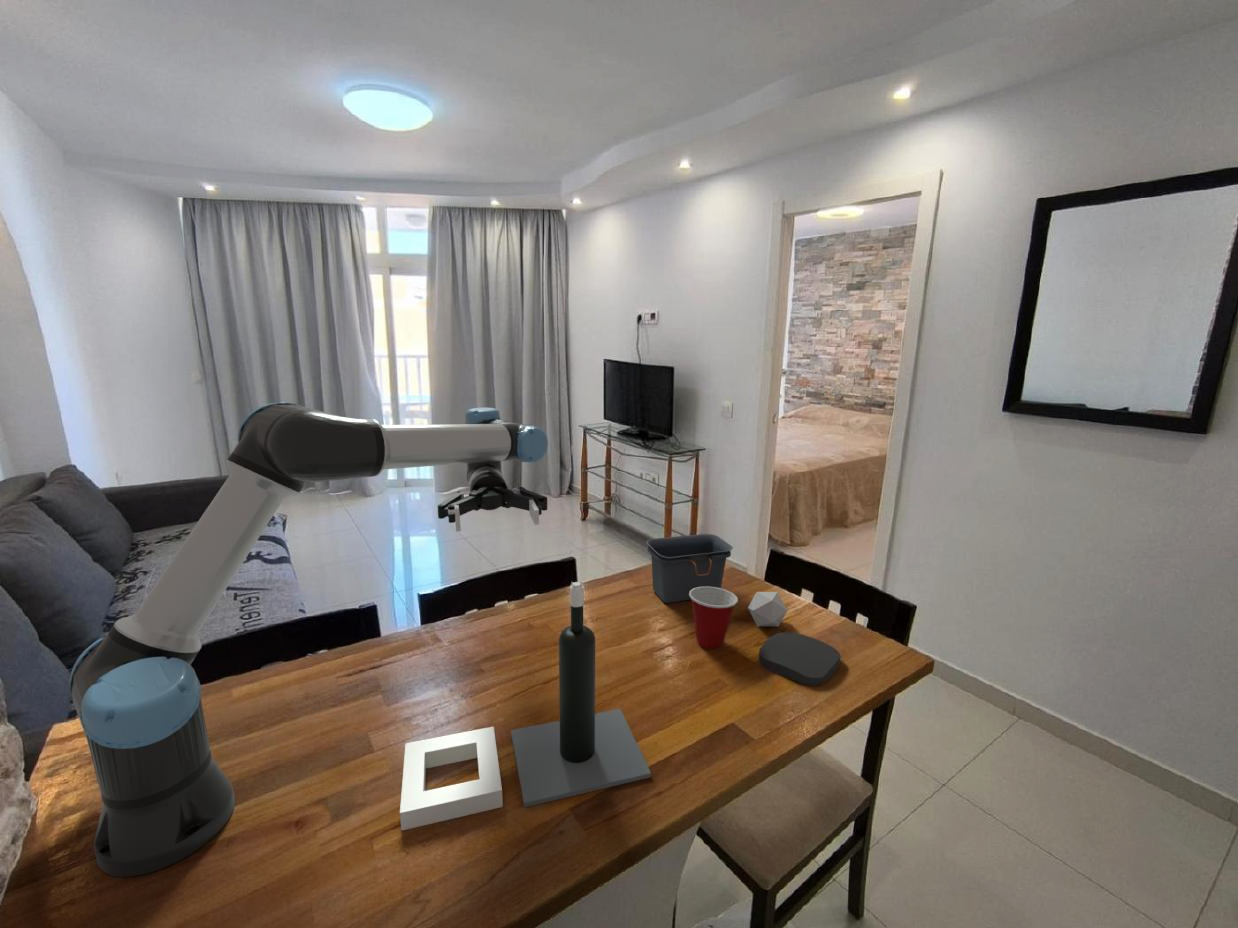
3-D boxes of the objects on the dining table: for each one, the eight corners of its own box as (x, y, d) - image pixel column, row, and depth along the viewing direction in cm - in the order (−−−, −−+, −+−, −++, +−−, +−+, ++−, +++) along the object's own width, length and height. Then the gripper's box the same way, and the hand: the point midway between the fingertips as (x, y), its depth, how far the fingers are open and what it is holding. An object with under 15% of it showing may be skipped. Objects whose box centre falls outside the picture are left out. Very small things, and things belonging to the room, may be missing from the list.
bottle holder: (401, 830, 78) (399, 812, 77) (406, 758, 91) (405, 743, 90) (502, 806, 82) (502, 789, 81) (494, 741, 95) (493, 726, 94)
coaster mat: (524, 807, 82) (523, 802, 82) (511, 734, 97) (511, 730, 96) (650, 777, 88) (651, 772, 88) (620, 712, 103) (620, 708, 102)
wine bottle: (579, 768, 88) (578, 595, 81) (552, 752, 92) (550, 584, 85) (601, 748, 93) (603, 582, 86) (576, 733, 96) (575, 572, 89)
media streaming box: (818, 692, 110) (820, 679, 109) (751, 664, 119) (752, 651, 118) (845, 661, 120) (846, 648, 120) (781, 637, 130) (782, 625, 129)
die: (777, 639, 129) (798, 603, 130) (746, 619, 130) (766, 583, 131) (767, 633, 137) (787, 599, 139) (738, 614, 138) (757, 581, 139)
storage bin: (709, 578, 160) (712, 531, 156) (738, 602, 145) (741, 551, 142) (641, 588, 153) (642, 539, 149) (664, 614, 139) (665, 561, 135)
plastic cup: (743, 642, 127) (747, 594, 124) (717, 661, 119) (720, 611, 116) (704, 625, 134) (706, 579, 131) (677, 642, 126) (679, 594, 123)
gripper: (547, 501, 122) (567, 534, 102) (427, 510, 114) (424, 547, 95) (546, 467, 120) (567, 494, 100) (424, 474, 113) (421, 505, 93)
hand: (498, 520), depth 97 cm, fingers open, 13 cm apart
